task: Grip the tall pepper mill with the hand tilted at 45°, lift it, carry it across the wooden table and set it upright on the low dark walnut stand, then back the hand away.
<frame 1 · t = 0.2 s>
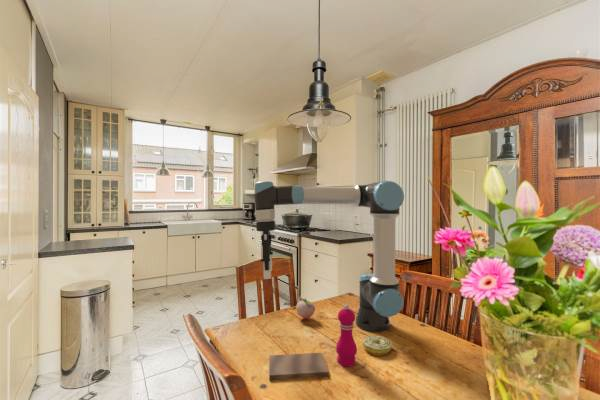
hand: (268, 274, 116), 27 cm above the table, tool pointing down, fingers open, 13 cm apart
decorated donut: (377, 350, 112), on the table
pepper mill: (346, 362, 103), on the table
walnut stand: (297, 367, 99), on the table
decorative fruit: (305, 319, 140), on the table
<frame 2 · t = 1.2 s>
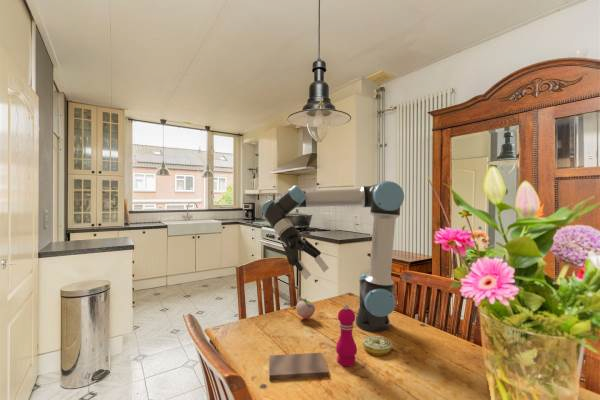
hand: (317, 273, 113), 29 cm above the table, tool tilted 45°, fingers open, 13 cm apart
nothing on the table moved.
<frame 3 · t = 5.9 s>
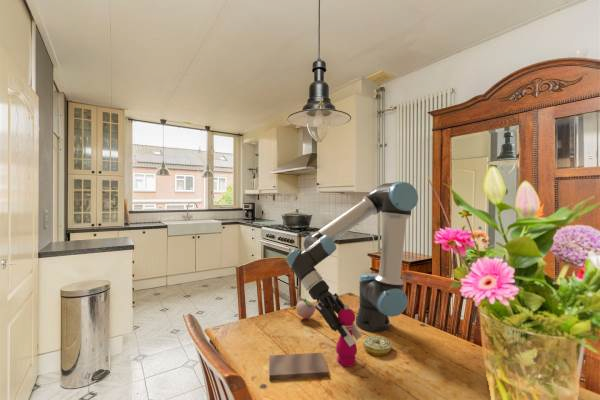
hand: (356, 340, 101), 8 cm above the table, tool tilted 45°, fingers closed on pepper mill, 5 cm apart
pepper mill: (346, 362, 103), on the table, touching gripper
everything else where it was.
when the fingers open (10 cm above the table, at t = 12.2 s): pepper mill stays where it is, resting on walnut stand.
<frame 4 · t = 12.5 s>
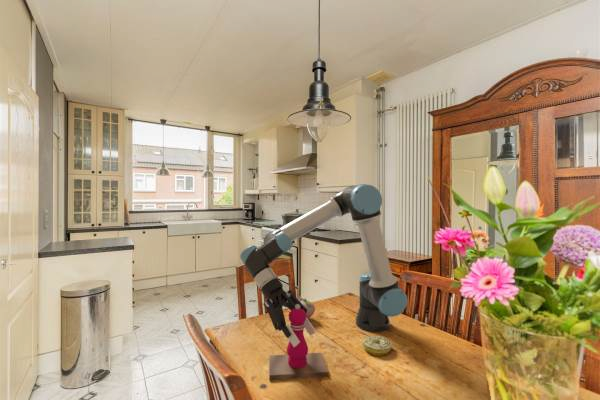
hand: (305, 338, 98), 11 cm above the table, tool tilted 45°, fingers open, 9 cm apart
pepper mill: (297, 363, 99), point 1 cm above the table, touching walnut stand
everything else where it was.
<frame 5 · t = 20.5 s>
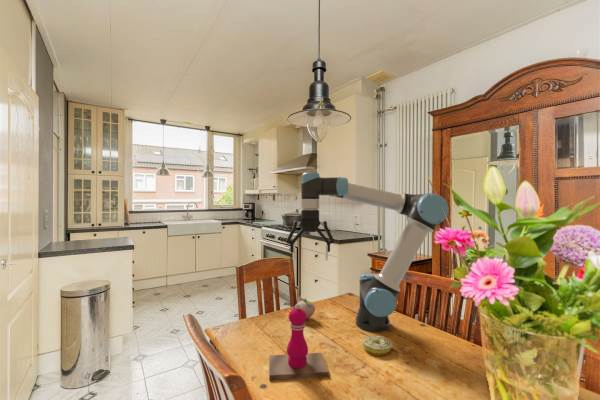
hand: (310, 260, 123), 32 cm above the table, tool pointing down, fingers open, 13 cm apart
nothing on the table moved.
at the end: pepper mill inside the target area on the walnut stand (0.0 cm from its centre), point 1.3 cm above the walnut stand's base; pepper mill tilted 0°; the gripper is holding nothing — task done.
